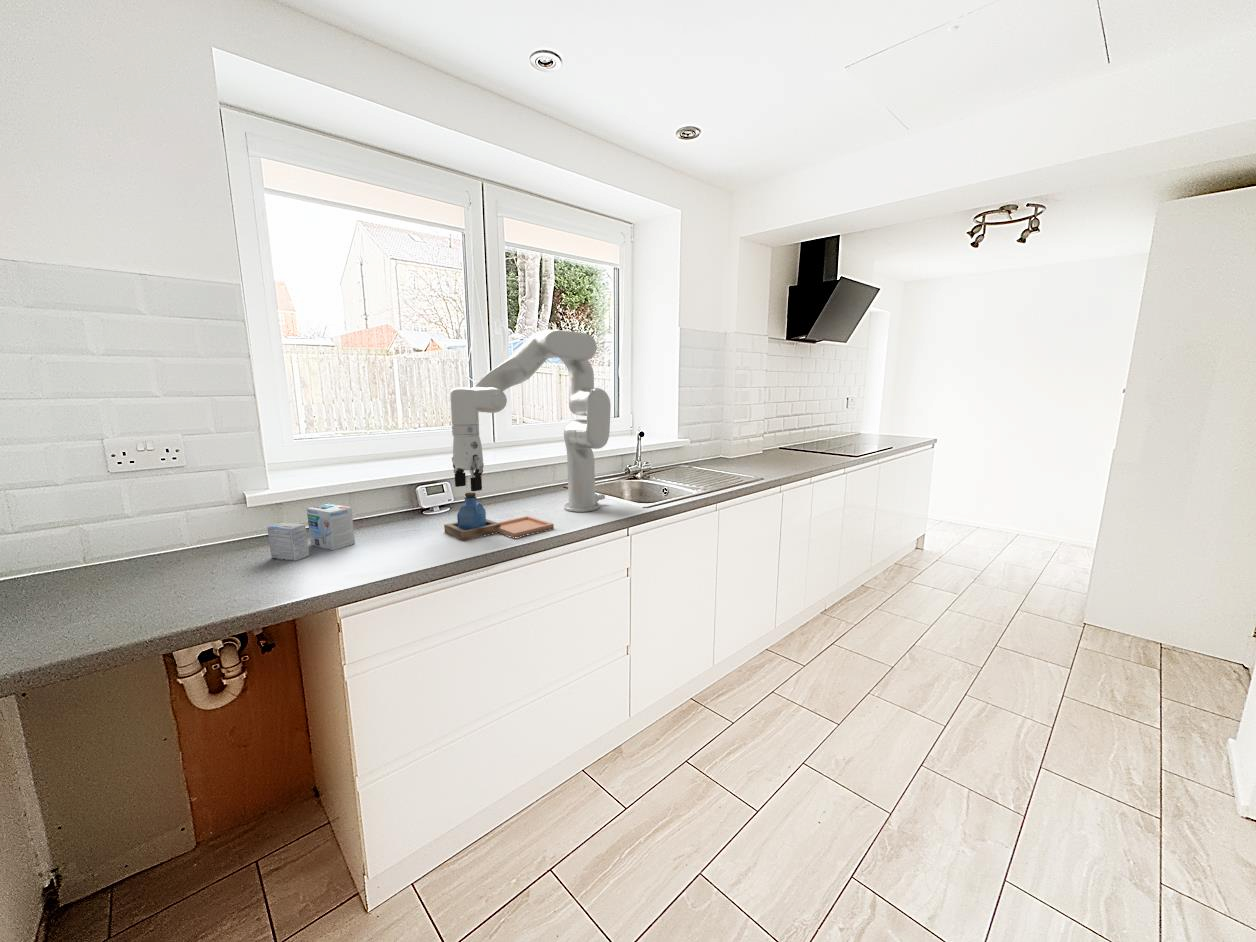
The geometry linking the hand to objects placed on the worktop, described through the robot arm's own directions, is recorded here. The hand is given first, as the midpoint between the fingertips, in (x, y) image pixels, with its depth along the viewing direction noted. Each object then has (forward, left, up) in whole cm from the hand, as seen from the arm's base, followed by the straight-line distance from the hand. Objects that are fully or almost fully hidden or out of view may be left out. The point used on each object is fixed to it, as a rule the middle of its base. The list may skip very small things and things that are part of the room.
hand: (468, 488), depth 149 cm
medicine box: (+43, -14, -14) cm, 48 cm away
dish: (-12, +8, -14) cm, 20 cm away
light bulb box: (+32, -18, -14) cm, 40 cm away
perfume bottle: (-1, 0, -14) cm, 14 cm away
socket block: (-1, 0, -14) cm, 14 cm away
